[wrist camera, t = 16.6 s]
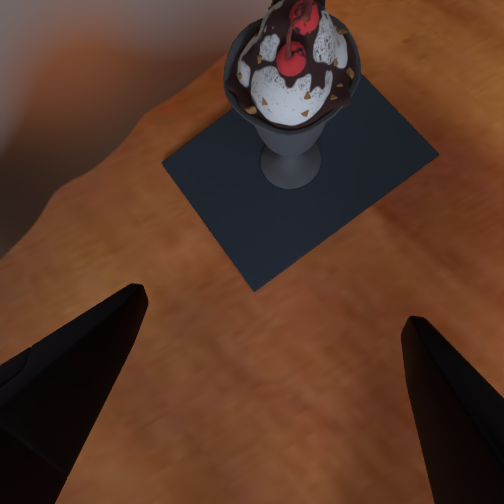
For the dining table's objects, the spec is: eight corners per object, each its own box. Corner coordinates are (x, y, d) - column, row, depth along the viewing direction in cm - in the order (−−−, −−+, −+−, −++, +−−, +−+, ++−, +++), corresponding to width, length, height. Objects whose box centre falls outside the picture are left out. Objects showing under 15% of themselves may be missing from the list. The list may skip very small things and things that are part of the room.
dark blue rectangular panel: (438, 155, 23) (439, 154, 22) (254, 292, 23) (254, 292, 23) (325, 38, 25) (325, 36, 25) (162, 163, 26) (161, 162, 25)
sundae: (294, 216, 23) (301, 88, 9) (235, 165, 25) (150, -22, 10) (349, 155, 23) (450, -76, 9) (287, 108, 25) (281, -164, 10)
